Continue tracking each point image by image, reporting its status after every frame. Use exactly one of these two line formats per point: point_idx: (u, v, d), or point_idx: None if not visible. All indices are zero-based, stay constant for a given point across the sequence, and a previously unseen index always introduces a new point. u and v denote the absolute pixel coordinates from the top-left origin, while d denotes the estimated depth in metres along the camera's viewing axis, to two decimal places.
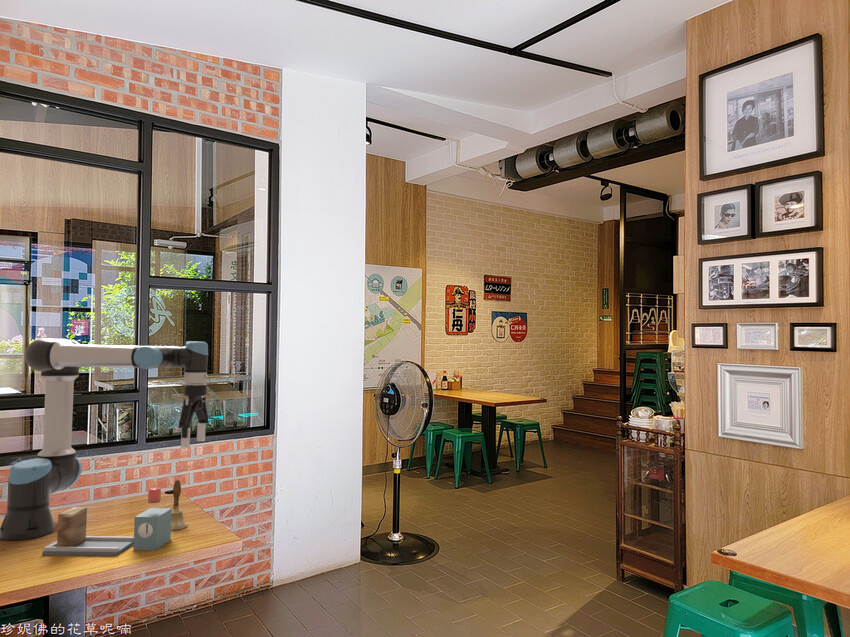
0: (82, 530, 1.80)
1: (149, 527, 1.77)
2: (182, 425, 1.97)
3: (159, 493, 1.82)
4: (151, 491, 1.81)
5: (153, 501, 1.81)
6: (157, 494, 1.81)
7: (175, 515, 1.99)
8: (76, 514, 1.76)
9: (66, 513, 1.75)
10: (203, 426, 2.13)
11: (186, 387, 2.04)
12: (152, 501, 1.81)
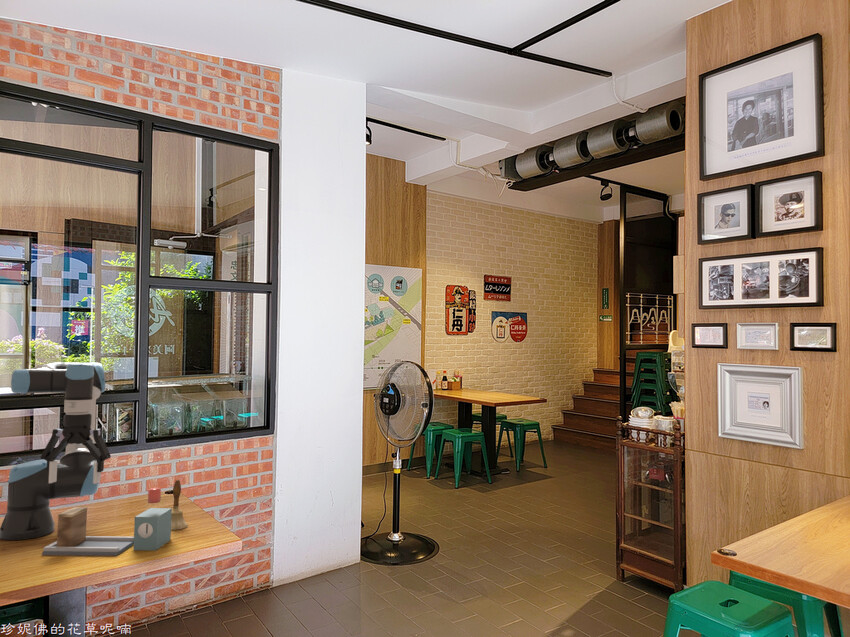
0: (82, 530, 1.80)
1: (149, 527, 1.77)
2: None
3: (159, 493, 1.82)
4: (151, 491, 1.81)
5: (153, 501, 1.81)
6: (157, 494, 1.81)
7: (175, 515, 1.99)
8: (76, 514, 1.76)
9: (66, 513, 1.75)
10: None
11: None
12: (152, 501, 1.81)
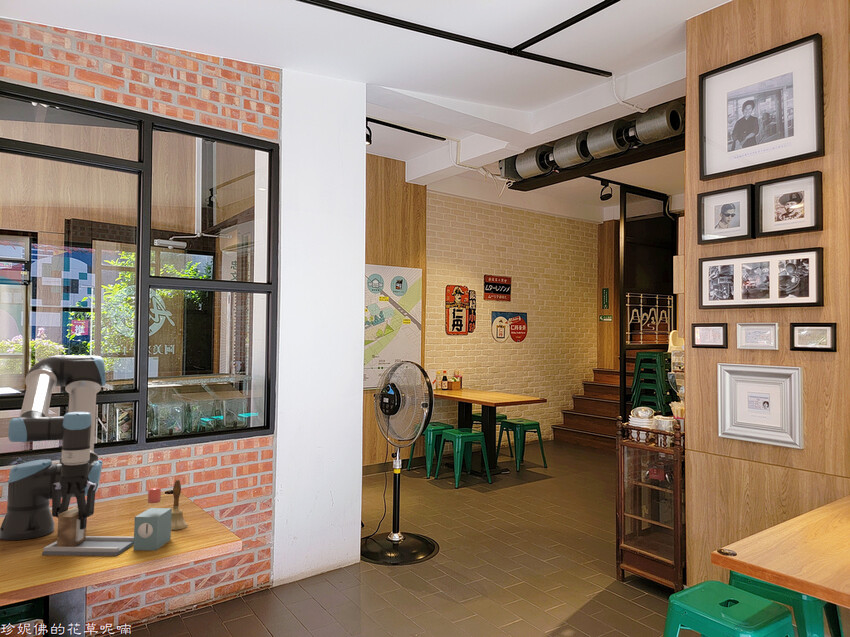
0: None
1: (149, 527, 1.77)
2: None
3: (159, 493, 1.82)
4: (151, 491, 1.81)
5: (153, 501, 1.81)
6: (157, 494, 1.81)
7: (175, 515, 1.99)
8: (76, 514, 1.76)
9: (66, 513, 1.75)
10: None
11: None
12: (152, 501, 1.81)
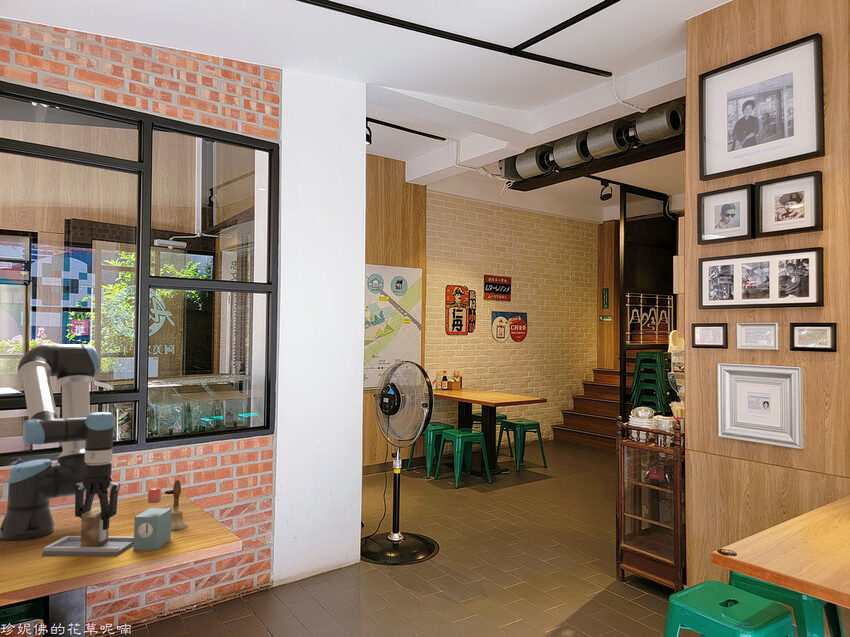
0: None
1: (149, 527, 1.77)
2: None
3: (159, 493, 1.82)
4: (151, 491, 1.81)
5: (153, 501, 1.81)
6: (157, 494, 1.81)
7: (175, 515, 1.99)
8: (99, 514, 1.76)
9: (89, 513, 1.75)
10: None
11: None
12: (152, 501, 1.81)
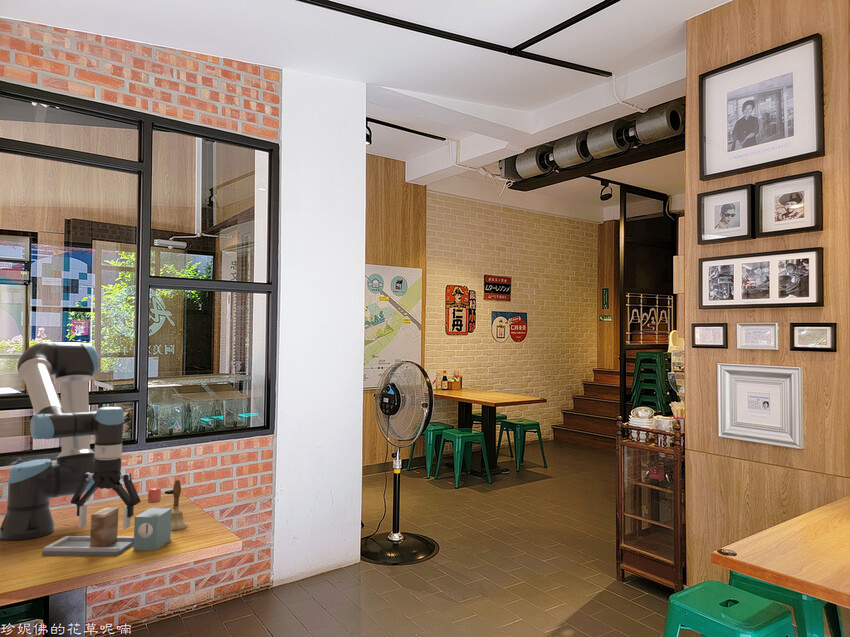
0: (114, 531, 1.80)
1: (149, 527, 1.77)
2: None
3: (159, 493, 1.82)
4: (151, 491, 1.81)
5: (153, 501, 1.81)
6: (157, 494, 1.81)
7: (175, 515, 1.99)
8: (108, 514, 1.76)
9: (99, 513, 1.75)
10: None
11: None
12: (152, 501, 1.81)
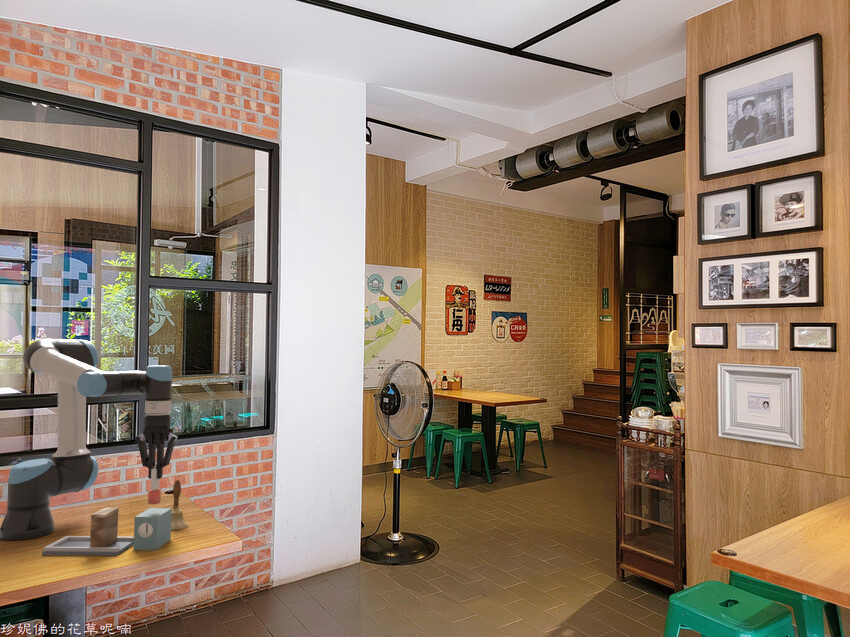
0: (114, 531, 1.80)
1: (149, 527, 1.77)
2: None
3: (159, 494, 1.82)
4: (151, 492, 1.81)
5: (153, 502, 1.81)
6: (157, 495, 1.81)
7: (175, 515, 1.99)
8: (108, 514, 1.76)
9: (99, 513, 1.75)
10: None
11: None
12: (152, 502, 1.81)
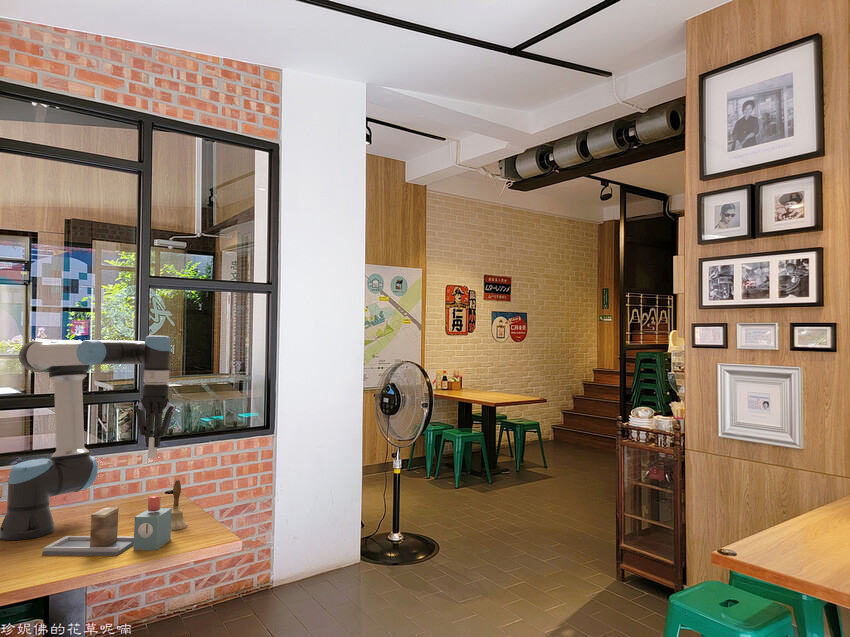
0: (114, 531, 1.80)
1: (149, 527, 1.77)
2: None
3: (159, 501, 1.82)
4: (151, 499, 1.81)
5: (153, 509, 1.80)
6: (157, 502, 1.81)
7: (175, 515, 1.99)
8: (108, 514, 1.76)
9: (99, 513, 1.75)
10: None
11: None
12: (152, 509, 1.80)
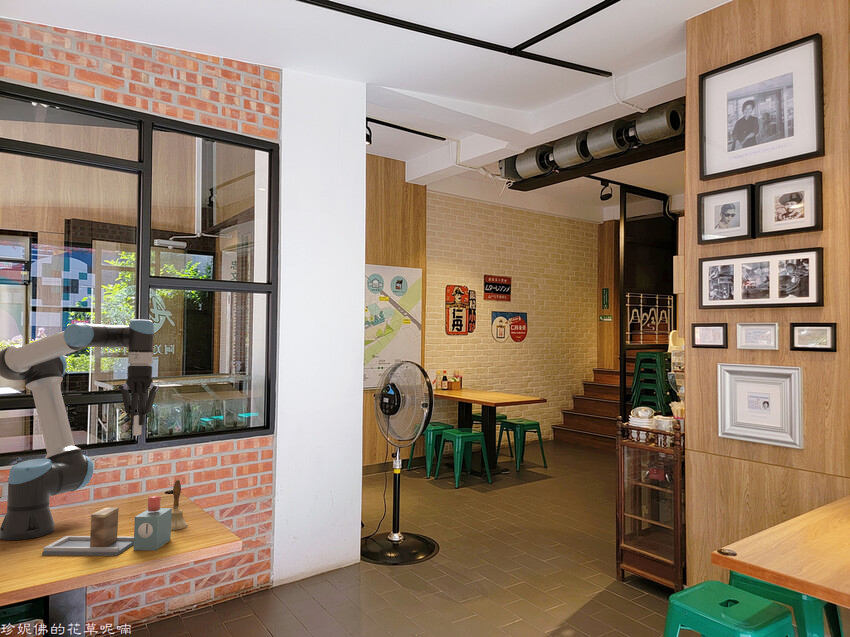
0: (114, 531, 1.80)
1: (149, 527, 1.77)
2: None
3: (159, 501, 1.82)
4: (151, 499, 1.81)
5: (153, 509, 1.80)
6: (157, 502, 1.81)
7: (175, 515, 1.99)
8: (108, 514, 1.76)
9: (99, 513, 1.75)
10: None
11: None
12: (152, 509, 1.80)
